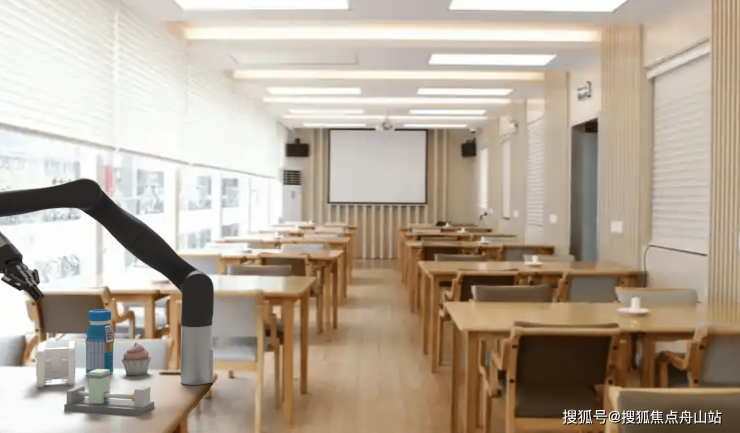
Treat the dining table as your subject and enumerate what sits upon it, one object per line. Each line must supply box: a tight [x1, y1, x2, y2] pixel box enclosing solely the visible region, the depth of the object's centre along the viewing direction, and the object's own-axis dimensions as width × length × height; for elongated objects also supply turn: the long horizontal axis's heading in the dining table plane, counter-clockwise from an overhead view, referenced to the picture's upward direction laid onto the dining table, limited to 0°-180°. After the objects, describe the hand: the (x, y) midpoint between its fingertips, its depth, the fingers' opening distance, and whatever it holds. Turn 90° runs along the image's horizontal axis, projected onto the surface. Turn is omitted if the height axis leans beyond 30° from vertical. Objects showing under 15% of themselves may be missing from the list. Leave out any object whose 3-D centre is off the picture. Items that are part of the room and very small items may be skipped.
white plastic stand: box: [34, 340, 76, 389], centre depth 223 cm, size 15×11×12 cm
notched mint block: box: [87, 369, 111, 404], centre depth 196 cm, size 4×4×8 cm
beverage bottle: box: [84, 308, 115, 376], centre depth 236 cm, size 8×8×20 cm
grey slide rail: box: [63, 385, 155, 416], centre depth 195 cm, size 21×8×6 cm, turn 78°
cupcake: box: [120, 342, 152, 377], centre depth 237 cm, size 9×9×10 cm
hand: (40, 298), depth 200 cm, fingers closed
